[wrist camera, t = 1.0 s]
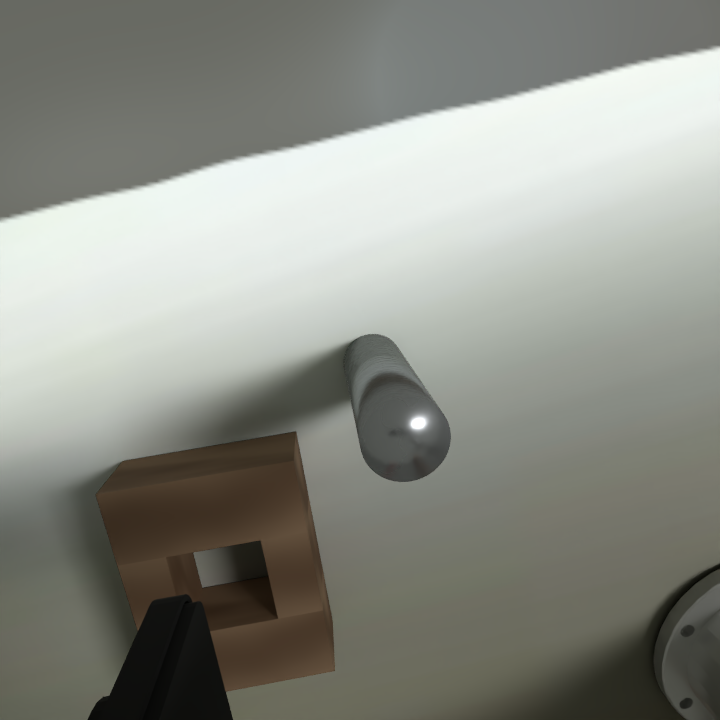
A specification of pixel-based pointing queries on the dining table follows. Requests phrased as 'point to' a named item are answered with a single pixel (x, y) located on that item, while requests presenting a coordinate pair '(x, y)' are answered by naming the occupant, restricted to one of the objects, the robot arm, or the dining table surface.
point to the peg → (393, 411)
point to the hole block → (220, 529)
